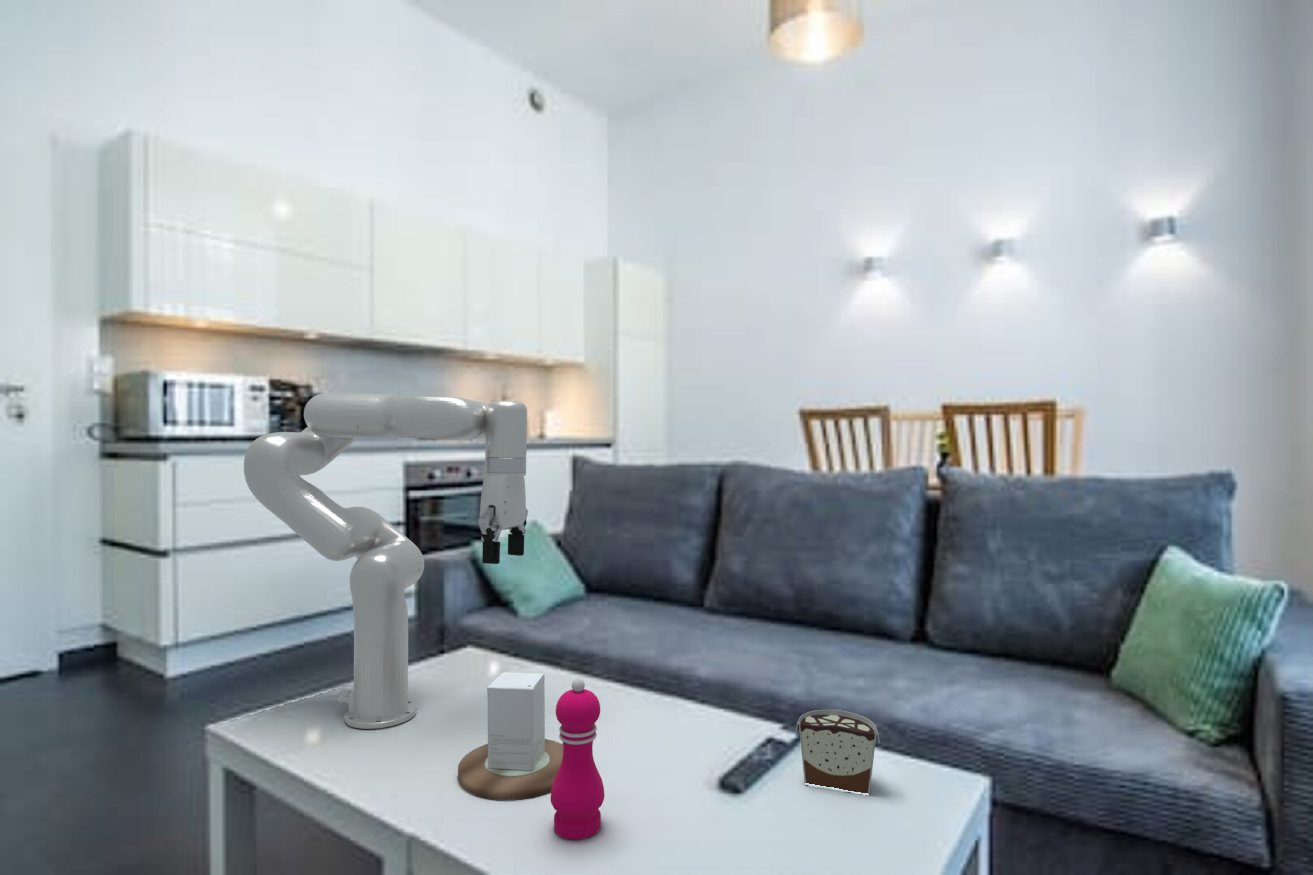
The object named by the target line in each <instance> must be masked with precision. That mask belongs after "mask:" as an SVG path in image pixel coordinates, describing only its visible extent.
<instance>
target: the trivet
mask: <svg viewBox="0 0 1313 875" xmlns="http://www.w3.org/2000/svg"><path fill="white" fill-rule="evenodd" d="M562 758H563V743H561V742H558V741H555V740H551V739H547V738H545V751H544V753H543V755H542V756H541V758H540V760H539V761H538V763H537V764H536V766H535V768H534V769H533V770H515V769H495V768H488V743H486V744H483V745H481V746H478V747H476V748H474V749H473V750H470V751H469V752H468V753H467V754H465V755H464V756H463V757H462V758H461V760H460V761H459V764H458V767H457V780H458V784H459V786H460V787H461V788H462V789H463V790H464V791H466V792H467V793H469V794H471V795H473V796H476V797H478V798H483V799H488V800H493V801H494V800H495V801H519V800H525V799H527V800H528V799H533V798H535V797H536V798H537V797H541V796H543V795H546V794H550V793H551V789H552V785H553V782H554V779H555V777H556V774H557V772H558V770H559V768H560V766H561V762H562Z"/></svg>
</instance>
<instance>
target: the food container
mask: <svg viewBox="0 0 1313 875" xmlns="http://www.w3.org/2000/svg"><path fill="white" fill-rule="evenodd" d="M795 727H796V728H795V733H796V732H799V740H800V748H801V749H800V750H801V760H802V768H803V769H802V770H803V779H804V784H805V783H809V784H815V785H820V786H826V787H834V788H839V789H843V790H848V791H854V792H861V793H868V794H869V795H870V792H871V786H872V785H871V782H872V776H873V766H874V758H875V757H874V756H875V749H876V743H877V742H876V741H877V740H878V744H881V740H880V736H879V731H878V729H877V725H876V724H875V723H874V722H873V721H872V720H870V719H869V718H868V717H865V716H863V715H860V714H858V713H854V712H849V711H847V710H846V711H845V710H840V709H839V710H838V709H818V710H812V711H808V712H805V713H803V714H801V716H800V717H798V720H797V721H796V726H795ZM798 730H799V731H798Z"/></svg>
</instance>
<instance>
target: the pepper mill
mask: <svg viewBox="0 0 1313 875" xmlns="http://www.w3.org/2000/svg"><path fill="white" fill-rule="evenodd" d="M585 686H586V684H585V681H584V680H583V679H582V678H579V677H578V678H575V679H574V680H573V681H572V682H571V688H572V689H569V690H567V691H565V692H564V693H562V694H561V696H560V697H559V698H558V700H557V702H556V704H555V705H556V706H555V717H556V719H557V721H558V723H559V724H560V726H559V728H558V731H559V735H558V738H559V740H560V741H561V742H562V744H563V758H562V762H561V766H560V768H559V770H558V772H557V774H556V777H555V779H554V782H553V785H552V789H551V792H550V803H551V805H552V807H553V809H554V810H555V813H554V815H553V819H554V820H553V830H554V832H555V833H556V835H558V836H559V837H560V838H563V839H566V840H575V841H577V840H584V839H588V838H591V837H593V836H594V835H596V834H597V833H598V832H599V831H600V829H601V823H602V822H601V821H602V820H601V818H602V815H601V814H602V813H601V811H600V808H601V807H602V806H603V803H604V801H605V787H604V782H603V780H602V777H601V773H600V772H599V770H598V767H597V766H596V762H595V760H594V755H593V752H594V751H593V747H594V740H595V739H597V734H598V733H597V730H598V729H597V725H596V722H597V721H598V719H599V718H600V715H601V703H600V700H599V697H598V696H597V695H596V694H595V693H594V692H592V691H591V690H589V689H586V688H585Z"/></svg>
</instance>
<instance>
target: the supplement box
mask: <svg viewBox="0 0 1313 875" xmlns="http://www.w3.org/2000/svg"><path fill="white" fill-rule="evenodd" d="M545 687H546V686H545V673H535V672H534V673H533V672H532V673H531V672H529V673H528V672H527V673H526V672H508V671H507V672H506V671H503V672H501V673H500V674H499V675H498V676H497V677H496V678H495V680H493V682H492V683H491V684H489V685H488V687H487V688H486V689H487V690H486V691H487V744H488V768H495V769H515V770H533V769H534V768H535V766H536V764H537V763H538V761H539V760H540V758H541V756H542V755H543V753H544V751H545V739H546V738H545V736H546V728H545V726H546V725H545V723H546V721H545V719H546V714H545V712H546V709H545V708H546V707H545V705H546V704H545V697H546V696H545V694H546V692H545V689H546V688H545Z"/></svg>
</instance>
